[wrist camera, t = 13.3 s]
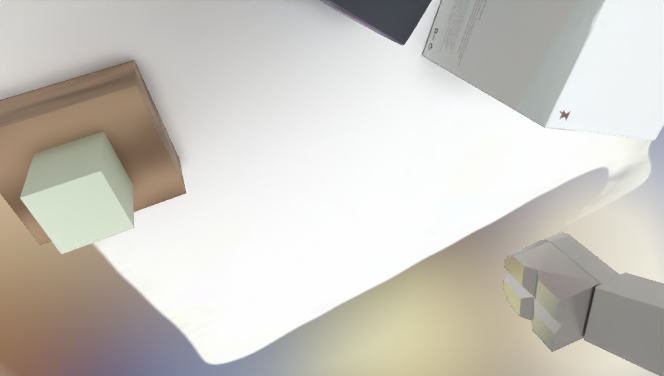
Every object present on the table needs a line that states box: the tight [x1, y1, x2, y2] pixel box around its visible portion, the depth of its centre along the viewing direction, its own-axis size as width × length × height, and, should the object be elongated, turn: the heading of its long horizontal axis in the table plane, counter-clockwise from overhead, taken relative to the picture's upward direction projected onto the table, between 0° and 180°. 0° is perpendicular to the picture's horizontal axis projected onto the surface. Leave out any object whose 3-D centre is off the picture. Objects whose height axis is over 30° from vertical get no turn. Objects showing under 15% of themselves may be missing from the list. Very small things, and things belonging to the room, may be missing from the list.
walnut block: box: [0, 61, 186, 245], centre depth 39 cm, size 10×12×6 cm
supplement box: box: [423, 0, 664, 140], centre depth 40 cm, size 17×13×18 cm
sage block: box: [20, 131, 134, 254], centre depth 34 cm, size 5×5×6 cm
